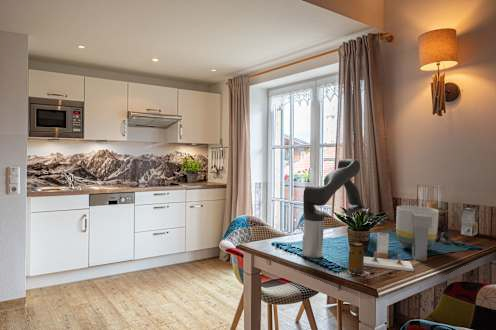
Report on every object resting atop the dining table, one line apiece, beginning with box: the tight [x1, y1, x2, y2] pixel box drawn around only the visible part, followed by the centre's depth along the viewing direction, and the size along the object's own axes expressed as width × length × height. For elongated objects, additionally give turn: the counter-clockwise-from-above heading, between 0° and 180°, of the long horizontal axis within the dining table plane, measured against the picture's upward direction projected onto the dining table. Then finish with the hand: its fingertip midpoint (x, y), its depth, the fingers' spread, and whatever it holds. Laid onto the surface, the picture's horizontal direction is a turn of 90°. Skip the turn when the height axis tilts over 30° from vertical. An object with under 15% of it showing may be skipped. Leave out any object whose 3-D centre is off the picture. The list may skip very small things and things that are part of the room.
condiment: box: [347, 241, 371, 278], centre depth 143 cm, size 7×8×12 cm
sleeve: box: [376, 232, 390, 259], centre depth 166 cm, size 5×5×11 cm
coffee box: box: [460, 207, 480, 237], centre depth 218 cm, size 9×6×16 cm
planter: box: [395, 205, 440, 251], centre depth 180 cm, size 20×20×21 cm
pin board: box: [363, 251, 415, 272], centre depth 154 cm, size 20×10×5 cm, turn 74°
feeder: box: [411, 213, 432, 262], centre depth 165 cm, size 7×9×21 cm
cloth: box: [434, 231, 463, 247], centre depth 196 cm, size 22×19×6 cm
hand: (375, 223), depth 177 cm, fingers open, 8 cm apart
